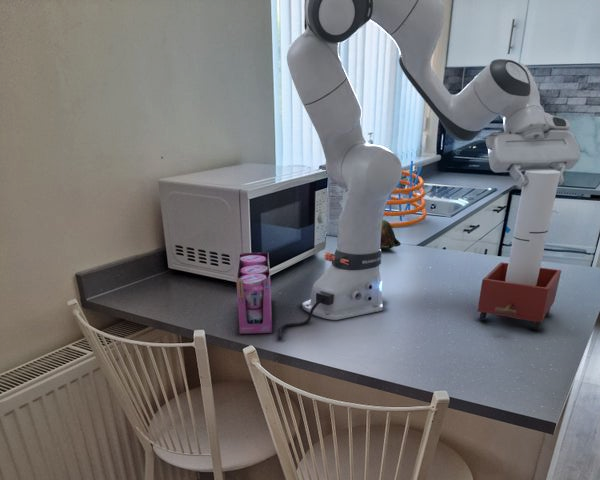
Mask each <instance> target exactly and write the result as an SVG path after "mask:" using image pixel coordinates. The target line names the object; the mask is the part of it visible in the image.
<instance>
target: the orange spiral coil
mask: <svg viewBox="0 0 600 480" xmlns="http://www.w3.org/2000/svg"><path fill="white" fill-rule="evenodd" d="M413 167H414V160H410V170H409V171H407V170H403V169H402V176H406V177H409V181H408V180H405V179H401V180H400V182H399V184H398V186H397V187H396V189H395V190H394V191H393V192H392V193H391V194H390V196H389V199H388V201H387V204H386V207H385V209H387V206H388V209H389V211H386V210H385V211H384V214H383V217H399V221H400V222H389V223H390V225H391V227H392V228H400V227H407V226H412V225H415V224H419V223H420V222H422V221H424V220H425V219H426V218H427V214H428V213H427V209H426V204H427V202H426V199H425V198H424V197H425V195H426V191H425V189H424V188H423V187H424V185H425V181H424V179H423V178H422V176H420V175H421V171H422V168H423V166H419V169H418V171H417V174H416V173H413ZM413 179H415V180H414V182H413ZM418 182H419V184H417V183H418ZM401 185H404V186H408V187H405V188H401ZM416 191H419V192H420V194H418V193H416ZM393 194H397V195H398V196H392V195H393ZM401 194H403V195H406V196H408V199H407V198H403V197H401V196H402V195H401ZM418 202H420V203H421V204H419V203H418ZM402 205H405V209H404V210H402ZM392 206H398V209H399V211H392ZM411 206H412V207H415V208H412V209H411ZM418 212H421V213H422V215H421V216H419V217H418V218H416V219H413V220H408V221H403V218H405V217H406V216H409V215H413V214H416V213H418Z"/></svg>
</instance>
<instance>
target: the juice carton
mask: <svg viewBox="0 0 600 480" xmlns="http://www.w3.org/2000/svg"><path fill="white" fill-rule="evenodd" d="M319 169H322V170H326V163H324V164H321V165H319V166H318V170H319ZM347 195H348V190H347V189H344V188H341V187H339V186H338V185H337V184H335V183H334V182H333V181H332V180H331V179H330V177H329V176H328V198H327V225H326V232H327V233H326V235H325V236H332V237H338V218H339V216H340V214H341V213H342V212H343V210H344V207H345V204H346V200H347Z"/></svg>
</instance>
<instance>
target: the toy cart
mask: <svg viewBox="0 0 600 480" xmlns="http://www.w3.org/2000/svg"><path fill="white" fill-rule="evenodd" d="M508 263H509V262H499V263H498V264H497V265H496V266H495V267H494V268H492V270H490V272H488V274H486V276H484V277H483V278H482V279H481V287H480V292H479V298H478V305H477V312H479V321H483V322H484V321H485V320H486V318H487V316H488V314H490V315H496V316H501V317H506V318H512V319H517V320H518V319H520V320H524V321H530V322H534V326H533V330H534V331H537V332H539V331H540V329H541V326H542V322H543V320H544V318H546V317H548V316H549V314H550V312H551V308H552V306H553V304H554V303H555V301H556V296H557V291H558V288H559V284H560V278H561V274H562V269H557V268H555V269H554V268H549V267H547V268H546V267H540V271H539V275H538V280H537V285H536V286H531V285H524V284H517V283H511V282H505V279H506V274H507V269H508Z"/></svg>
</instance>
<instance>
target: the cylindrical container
mask: <svg viewBox="0 0 600 480" xmlns="http://www.w3.org/2000/svg"><path fill="white" fill-rule="evenodd" d="M523 175H524V176H527V178H528V180H529V183H528V184H527V185H526V186H525V187H521V192H520V198H519V204H518V207H517V208H518V209H517V214H516V220H515V226H514V230H513V237H512V242H511V247H510V253H509V257H508V258H509V259H508V262H507V263H508V269H507V274H506V279H505V282H511V283H517V284H524V285H531V286H536V285H537V280H538V275H539V271H540V268H541V265H542V260H543V257H544V251H545V247H546V243H547V237H548V233H549V229H550V223H551V219H552V215H553V209H554V205H555V200H556V195H557V191H558V186H559V185H558V182H559V177H560V171H557V170H548V169H530V170H526V171H524V174H523Z"/></svg>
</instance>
